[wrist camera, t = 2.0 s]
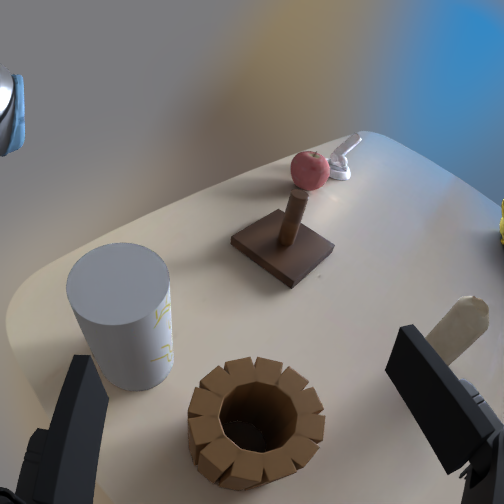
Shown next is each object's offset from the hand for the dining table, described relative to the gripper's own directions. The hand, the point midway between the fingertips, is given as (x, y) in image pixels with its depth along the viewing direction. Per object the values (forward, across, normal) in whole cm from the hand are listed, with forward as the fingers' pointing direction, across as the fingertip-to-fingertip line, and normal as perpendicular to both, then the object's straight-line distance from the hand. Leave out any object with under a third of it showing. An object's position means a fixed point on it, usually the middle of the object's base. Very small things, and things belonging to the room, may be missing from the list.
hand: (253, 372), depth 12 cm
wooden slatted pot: (+6, 0, -17) cm, 18 cm away
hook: (+58, +28, -3) cm, 64 cm away
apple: (+50, +18, -5) cm, 53 cm away
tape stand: (+32, +10, -10) cm, 35 cm away
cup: (+16, -10, -13) cm, 23 cm away
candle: (+14, +28, -18) cm, 36 cm away
